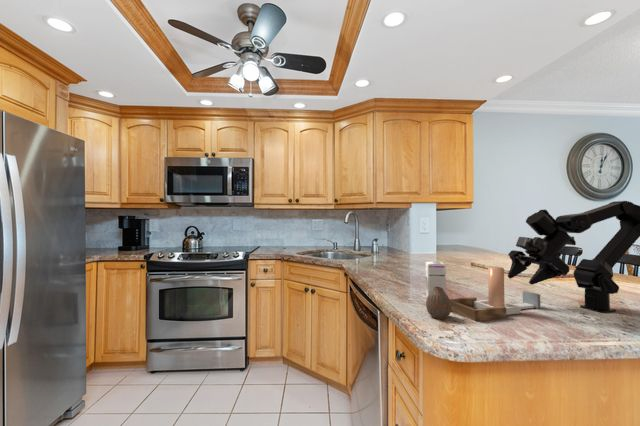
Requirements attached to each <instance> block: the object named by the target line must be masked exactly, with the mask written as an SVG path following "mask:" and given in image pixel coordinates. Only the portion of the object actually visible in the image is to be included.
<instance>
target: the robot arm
mask: <svg viewBox="0 0 640 426" xmlns="http://www.w3.org/2000/svg"><path fill="white" fill-rule="evenodd" d="M612 218H616V219H617V220H618V221H619V230H618V231H617V232H616V233H615V234H614V235H613V237H612V238H611V239H610V240H609V241H608V242H607V243H606V244H605V245H604V247H602V249H601V250H600V251H599V253H597V255H595V257H593V258H592V259H586V258H582V259H581V260H580V261H579V263H578V264H577V265H576V266H574V268H575V269H574V271H573V272H572V273H573V277H574V279H575V283H576V285H577V287H578V288H582V289H584V304H580V305H579V308H583V309H587V310H592V311H594V312H595V311H596V312H598V313H603V314H604V313H610V312H611V313H612V312H616V311H617V308H616V309H615V308H612V307H611V298H610V297H611V296H610V294H611V295H615V294H618V293H619V290H620V286H619V285H618V284H617V283H616V282H615V281H614V280H613V278H614V271H613V268H614V266H615V265H616V264H617V263H618V262H619V261H620V260H621V258H623V256H624V255H625V254H626V253H627V252H628V251H629V249H631V248H632V246H633V245H634V244H635V243H636V242H637V240H638V239H639V238H640V205H639V204H635V203H633V202H632V201H629V200H619V201H611V202H610V203H607V204H604V205H601V206H599V207H595V208H592V209H590V210H587V211H583V212H580V213H572V214H565V215H564V214H561V215H559V216H557V217H556V218H554V217H553V216H552V215H551V214H550V213H549V211H548V210H547V209H540V210H538V212H534V213H533V214H531V215H528V217H527V218H526V219H525V223H526V224H527V225H528V226H529V227H530V228H531V229H532V230H533V231H534V232H535V233H536V234H537V235H538V236H535V237H525V236H518V239H517V241H516V243H515V247H517V248H521V249H523V250H524V251H522V250H516V249H515V250H513V249H512V250H511V251H510V252H509V253H508V254H507V256H508V257H509V259H510V260H511V265H510V269H509V271H508V274H507V277H508V278H509V279H514V278H516V276H518V275H520V274H521V273H523V272H525V271H526V270H527V269H528V267H531V265H532V264H536V265H538V268H537V270H535V273H534V274H533V275H532V277H530V278H529V281H528V283H529V284H530V285H531V286H532V285H535V284H538V283H541V282H543V281H547V280H550V279H552V278H557V277H558V278H559V277H561V276H564V277H565V276H567V274H569V272H570V266H569V265H568V264H567V263H566V262H565V261H564V260H563V259H562V257H561V256H562V253H560V252H561V251H562V250H563V249H564V248H565V246H567V245H569V246H576V245H577V242H576V240H575V236H571V235H570V234H581V233H584V232H586V231H587V230H589V229H591V228H592V226H593V225H594V224H597V223H600V222H602V221H605V220H609V219H612ZM539 236H544V237H543V238H542V237H539ZM526 254H527V255H526Z"/></svg>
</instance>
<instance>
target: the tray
mask: <svg viewBox="0 0 640 426" xmlns="http://www.w3.org/2000/svg"><path fill="white" fill-rule="evenodd" d="M490 307H493V306H490V305H488V299H482V300H477V301H474V307H473V308H474V309H480V308H490ZM505 307H506V316H508V315H519V314H521V310H526V309H541V294H539V293H535V292H532V291H527V290H524V291H522V302H519V303H513V304H512V303H509V302H505Z"/></svg>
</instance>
